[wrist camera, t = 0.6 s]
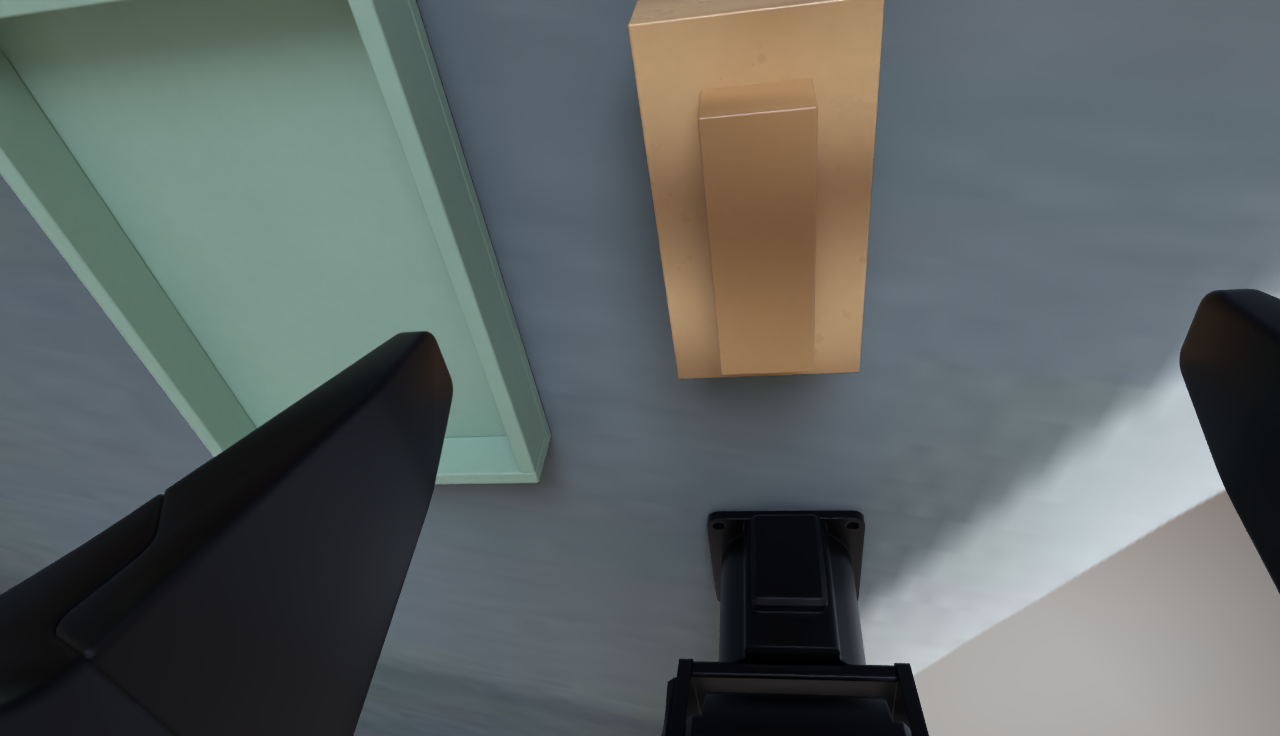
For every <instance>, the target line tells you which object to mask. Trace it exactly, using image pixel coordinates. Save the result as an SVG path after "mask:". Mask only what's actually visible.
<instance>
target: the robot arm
mask: <svg viewBox="0 0 1280 736" xmlns="http://www.w3.org/2000/svg"><path fill="white" fill-rule="evenodd" d="M1180 369H1181V373H1182V376H1183V379H1184V381H1185V384H1186V387H1187V389H1188V392H1189V395H1190V398H1191V400H1192V403H1193V406H1194V408H1195V411H1196V414H1197V417H1198V419H1199V422H1200V425H1201V427H1202V430H1203V433H1204V435H1205V438H1206V441H1207V444H1208V446H1209V449H1210V452H1211V454H1212V457H1213V460H1214V463H1215V465H1216V468H1217V470H1218V473H1219V475H1220V478H1221V480H1222V482H1223V485H1224V487H1225V489H1226V491H1227V493H1228V495H1229V497H1230V499H1231V501H1232V503H1233V505H1234V507H1235V509H1236V511H1237V513H1238V515H1239V517H1240V519H1241V520H1242V522H1243V525H1244V526H1245V528H1246V530H1247V532H1248V534H1249V536H1250V538H1251V540H1252V542H1253V544H1254V546H1255V547H1256V549H1257V551H1258V553H1259V555H1260V557H1261V559H1262V561H1263V563H1264V565H1265V567H1266V568H1267V570H1268V572H1269V574H1270V576H1271V578H1272V580H1273V582H1274V584H1275V586H1276V588H1277V590H1278V592H1279V594H1280V299H1278V298H1276V297H1274V296H1271V295H1269V294H1266V293H1264V292H1261V291H1259V290H1255V289H1234V290H1216V291H1213V292H1210V293H1208V294H1207V295H1206V296H1205V297H1204V298H1203V299H1202V301H1201V303H1200V304H1199V307H1198V309H1197V312H1196V314H1195V317H1194V319H1193V321H1192V324H1191V326H1190V329H1189V331H1188V334H1187V336H1186V338H1185V341H1184V343H1183V346H1182V348H1181V352H1180ZM452 398H453V383H452V379H451V376H450V373H449V371H448V368H447V366H446V363H445V361H444V358H443V355H442V353H441V350H440V348H439V345H438V343H437V340H436V339H435V337H434V336H433V334H431V333H430V332H428V331H414V332H401V333H398V334H396V335H395V336H393V337H392V338H390V339H389V340H387V341H386V342H384V343H383V344H381V345H380V346H378V347H377V348H375V349H374V350H372V351H371V352H369V353H368V354H366V355H365V356H363V357H362V358H361V359H359V360H358V361H356V362H355V363H353V364H352V365H350V366H349V367H347V368H346V369H344V370H343V371H341V372H340V373H338V374H337V375H335V376H334V377H332V378H331V379H329V380H328V381H326V382H325V383H323V384H322V385H320V386H319V387H318V388H316V389H315V390H313V391H312V392H310V393H309V394H307V395H306V396H304V397H303V398H301V399H300V400H298V401H297V402H295V403H294V404H292V405H291V406H289V407H288V408H286V409H285V410H283V411H282V412H280V413H279V414H277V415H276V416H275V417H273V418H272V419H270V420H269V421H267V422H266V423H264V424H263V425H261V426H260V427H258V428H257V429H255V430H254V431H252V432H251V433H249V434H248V435H246V436H245V437H243V438H242V439H240V440H239V441H237V442H236V443H234V444H233V445H232V446H230V447H229V448H227V449H226V450H224V451H223V452H221V453H220V454H218V455H217V456H215V457H214V458H212V459H211V460H209V461H208V462H206V463H205V464H203V465H202V466H200V467H199V468H197V469H196V470H194V471H193V472H192V473H190V474H189V475H187V476H186V477H184V478H183V479H181V480H180V481H178V482H177V483H175V484H174V485H172V486H171V487H169V488H168V489H166V491H165V494H164V495H163V494H159V495H157V496H156V497H154V498H153V499H151V500H150V501H148V502H147V503H145V504H144V505H142V506H141V507H139V508H138V509H136V510H135V511H134V512H132V513H131V514H129V515H127V516H126V517H124V518H123V519H121V520H120V521H118V522H117V523H115V524H114V525H112V526H111V527H109V528H108V529H106V530H105V531H103V532H101V533H100V534H98V535H97V536H95V537H94V538H92V539H91V540H89V541H88V542H86V543H85V544H83V545H81V546H80V547H78V548H77V549H75V550H73V551H72V552H70V553H68V554H67V555H65V556H64V557H62V558H60V559H59V560H57V561H55V562H54V563H52V564H51V565H49V566H47V567H46V568H44V569H42V570H41V571H39V572H38V573H36V574H34V575H33V576H31V577H29V578H28V579H26V580H24V581H23V582H21V583H19V584H18V585H16V586H14V587H13V588H11V589H9V590H8V591H6V592H4V593H3V594H1V595H0V736H353V735H354V732H355V729H356V726H357V723H358V720H359V717H360V714H361V711H362V708H363V705H364V702H365V699H366V696H367V692H368V689H369V686H370V683H371V680H372V677H373V674H374V671H375V668H376V665H377V662H378V659H379V656H380V653H381V650H382V647H383V644H384V641H385V638H386V635H387V632H388V629H389V626H390V623H391V620H392V617H393V614H394V611H395V608H396V605H397V602H398V599H399V596H400V593H401V590H402V586H403V583H404V580H405V577H406V574H407V571H408V568H409V565H410V562H411V559H412V556H413V553H414V550H415V547H416V544H417V541H418V538H419V535H420V532H421V529H422V526H423V523H424V520H425V517H426V514H427V511H428V507H429V504H430V501H431V497H432V494H433V490H434V486H435V481H436V477H437V472H438V467H439V462H440V457H441V452H442V448H443V443H444V438H445V433H446V428H447V423H448V418H449V413H450V408H451V403H452ZM707 527H708V535H709V542H710V550H711V558H712V565H713V573H714V580H715V588H716V596H717V599H718V601H720V644H719V662H700V661H693V659H679V664H678V672H677V677H676V678H673V679H672V680H670V681H668V686H667V699H666V711H665V720H664V726H663V731H662V735H661V736H929V734H928V731H927V727H926V723H925V719H924V715H923V712H922V708H921V704H920V700H919V697H918V693H917V689H916V685H915V681H914V678H913V674H912V670H911V666H910V664H909V663H894V666H889V665H866V662H865V655H864V648H863V640H862V633H861V625H860V618H859V610H858V603H857V601H858V598H859V587H860V575H861V564H862V553H863V542H864V531H865V523H864V517H863V515H862V514H861V513H860V512H858V511H723V512H713V513H711V514H710V515H709V516H708V524H707Z"/></svg>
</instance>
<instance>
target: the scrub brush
mask: <svg viewBox="0 0 1280 736" xmlns="http://www.w3.org/2000/svg"><path fill="white" fill-rule="evenodd" d="M883 14H884V0H637V3H636V6H635V9H634V11H633V14H632V17H631V19H630V22H629V25H628V30H629V37H630V44H631V51H632V58H633V65H634V72H635V79H636V86H637V93H638V100H639V107H640V114H641V121H642V128H643V135H644V142H645V149H646V156H647V163H648V170H649V177H650V184H651V191H652V198H653V205H654V212H655V219H656V226H657V233H658V240H659V247H660V254H661V261H662V268H663V275H664V282H665V289H666V296H667V303H668V310H669V317H670V324H671V331H672V338H673V345H674V352H675V359H676V366H677V373H678V378H679V379H698V378H724V377H751V376H778V375H804V374H831V373H857V372H859V369H860V354H861V339H862V325H863V310H864V295H865V280H866V265H867V251H868V236H869V221H870V206H871V192H872V177H873V162H874V147H875V132H876V118H877V103H878V88H879V73H880V59H881V44H882V29H883Z"/></svg>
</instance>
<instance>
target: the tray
mask: <svg viewBox="0 0 1280 736" xmlns="http://www.w3.org/2000/svg"><path fill="white" fill-rule="evenodd" d="M0 174H1V175H2V176H3V178H4V179H5V180H6V182H7V183H8V184H9V186H10V187H11V188H12V190H13V191H14V192H15V194H16V195H17V196H18V198H19V199H20V200H21V202H22V203H23V204H24V206H25V207H26V208H27V210H28V211H29V212H30V214H31V215H32V216H33V218H34V219H35V220H36V222H37V223H38V224H39V226H40V227H41V228H42V230H43V231H44V232H45V234H46V235H47V236H48V238H49V239H50V240H51V242H52V243H53V244H54V246H55V247H56V248H57V250H58V251H59V252H60V253H61V255H62V256H63V257H64V259H65V260H66V261H67V263H68V264H69V265H70V267H71V268H72V269H73V271H74V272H75V273H76V275H77V276H78V277H79V279H80V280H81V281H82V283H83V284H84V285H85V287H86V288H87V289H88V291H89V292H90V293H91V295H92V296H93V297H94V299H95V300H96V301H97V303H98V304H99V305H100V307H101V308H102V309H103V311H104V312H105V313H106V315H107V316H108V317H109V319H110V320H111V321H112V323H113V324H114V325H115V327H116V328H117V329H118V331H119V332H120V333H121V335H122V336H123V337H124V338H125V340H126V341H127V342H128V344H129V345H130V346H131V348H132V349H133V350H134V352H135V353H136V354H137V356H138V357H139V358H140V360H141V361H142V362H143V364H144V365H145V366H146V368H147V369H148V370H149V372H150V373H151V374H152V376H153V377H154V378H155V380H156V381H157V382H158V384H159V385H160V386H161V388H162V389H163V390H164V392H165V393H166V394H167V396H168V397H169V398H170V400H171V401H172V402H173V404H174V405H175V406H176V408H177V409H178V410H179V412H180V413H181V414H182V416H183V417H184V418H185V419H186V421H187V422H188V423H189V425H190V426H191V427H192V429H193V430H194V431H195V433H196V434H197V435H198V437H199V438H200V439H201V441H202V442H203V443H204V445H205V446H206V447H207V449H208V450H209V451H210V453H211V454H212V455H213V457H215V456H217V455H218V454H220V453H221V452H223V451H224V450H226V449H227V448H229V447H230V446H232V445H233V444H234V443H236V442H237V441H239V440H240V439H242V438H243V437H245V436H246V435H248V434H249V433H251V432H252V431H254V430H255V429H257V428H258V427H260V426H261V425H263V424H264V423H266V422H267V421H269V420H270V419H272V418H273V417H275V416H276V415H277V414H279V413H280V412H282V411H283V410H285V409H286V408H288V407H289V406H291V405H292V404H294V403H295V402H297V401H298V400H300V399H301V398H303V397H304V396H306V395H307V394H309V393H310V392H312V391H313V390H315V389H316V388H318V387H319V386H320V385H322V384H323V383H325V382H326V381H328V380H329V379H331V378H332V377H334V376H335V375H337V374H338V373H340V372H341V371H343V370H344V369H346V368H347V367H349V366H350V365H352V364H353V363H355V362H356V361H358V360H359V359H361V358H362V357H363V356H365V355H366V354H368V353H369V352H371V351H372V350H374V349H375V348H377V347H378V346H380V345H381V344H383V343H384V342H386V341H387V340H389V339H390V338H392V337H393V336H395V335H396V334H398V333H401V332H414V331H428V332H430V333H431V334H433V336H434V337H435V339H436V340H437V343H438V345H439V348H440V350H441V353H442V355H443V358H444V361H445V363H446V366H447V368H448V371H449V373H450V376H451V379H452V383H453V398H452V403H451V408H450V413H449V418H448V423H447V428H446V433H445V438H444V443H443V448H442V452H441V457H440V462H439V467H438V472H437V477H436V481H435V484H497V483H538V482H539V480H540V476H541V472H542V469H543V465H544V461H545V457H546V454H547V450H548V446H549V443H550V439H551V433H550V430H549V427H548V423H547V420H546V417H545V414H544V411H543V407H542V404H541V401H540V398H539V394H538V391H537V388H536V385H535V382H534V378H533V375H532V372H531V369H530V366H529V362H528V359H527V356H526V353H525V350H524V346H523V343H522V340H521V337H520V333H519V330H518V327H517V324H516V321H515V317H514V314H513V311H512V308H511V305H510V301H509V298H508V295H507V292H506V289H505V285H504V282H503V279H502V276H501V272H500V269H499V266H498V263H497V260H496V256H495V253H494V250H493V247H492V244H491V240H490V237H489V234H488V231H487V228H486V224H485V221H484V218H483V215H482V211H481V208H480V205H479V202H478V199H477V195H476V192H475V189H474V186H473V183H472V179H471V176H470V173H469V170H468V167H467V163H466V160H465V157H464V154H463V150H462V147H461V144H460V141H459V138H458V134H457V131H456V128H455V125H454V122H453V118H452V115H451V112H450V109H449V106H448V102H447V99H446V96H445V93H444V89H443V86H442V83H441V80H440V77H439V73H438V70H437V67H436V64H435V61H434V57H433V54H432V51H431V48H430V45H429V41H428V38H427V35H426V32H425V28H424V25H423V22H422V19H421V16H420V12H419V9H418V6H417V3H416V0H0Z"/></svg>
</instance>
